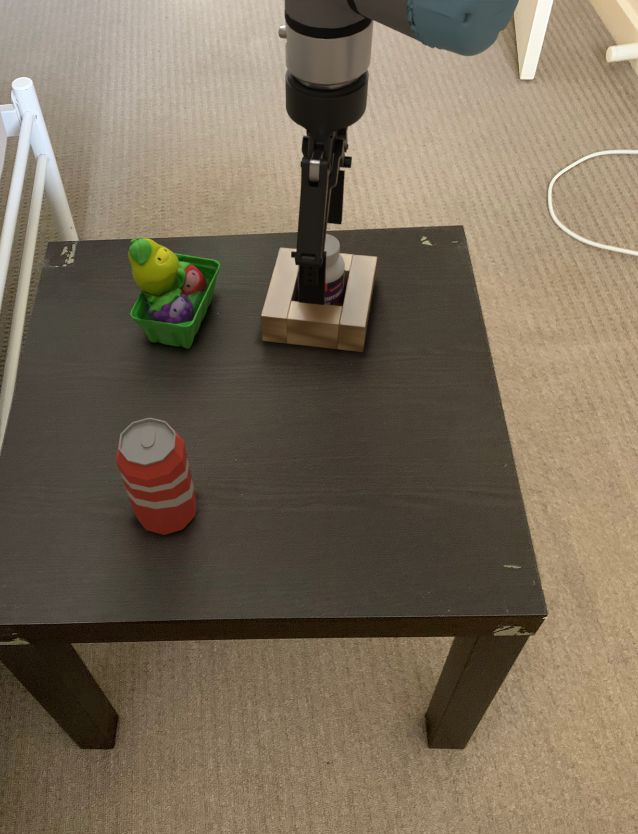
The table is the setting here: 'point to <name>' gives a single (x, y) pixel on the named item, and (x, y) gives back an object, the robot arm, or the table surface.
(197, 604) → the table surface
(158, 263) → the fruit basket
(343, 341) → the block
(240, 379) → the table surface
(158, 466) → the beverage can
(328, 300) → the pill bottle
